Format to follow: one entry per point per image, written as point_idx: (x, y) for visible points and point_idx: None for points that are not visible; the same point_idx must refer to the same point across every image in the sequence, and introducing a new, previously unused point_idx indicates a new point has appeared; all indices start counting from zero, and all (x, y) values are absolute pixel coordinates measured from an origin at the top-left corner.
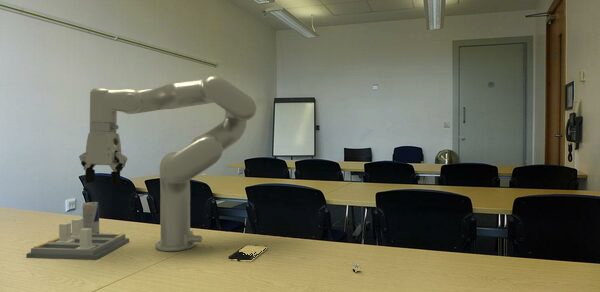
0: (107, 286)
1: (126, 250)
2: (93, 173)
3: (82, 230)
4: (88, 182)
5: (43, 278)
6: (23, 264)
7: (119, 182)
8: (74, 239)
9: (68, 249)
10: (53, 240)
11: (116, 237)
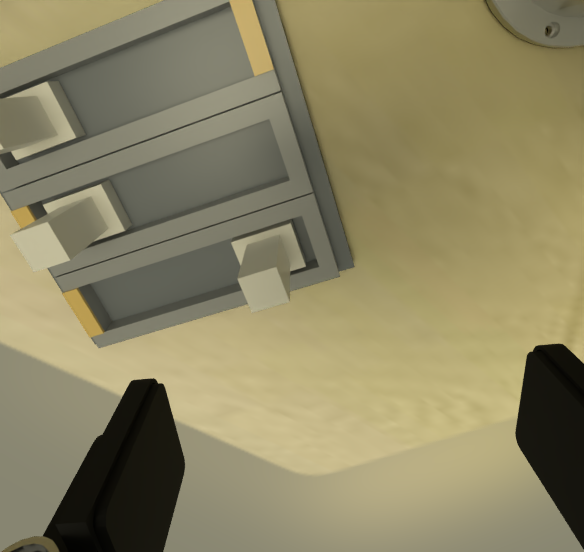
0: None
1: (371, 111)
2: (133, 489)
3: (266, 307)
4: (182, 455)
5: (345, 423)
6: (170, 378)
7: (564, 355)
8: (100, 186)
9: (237, 304)
10: None
11: (266, 71)
